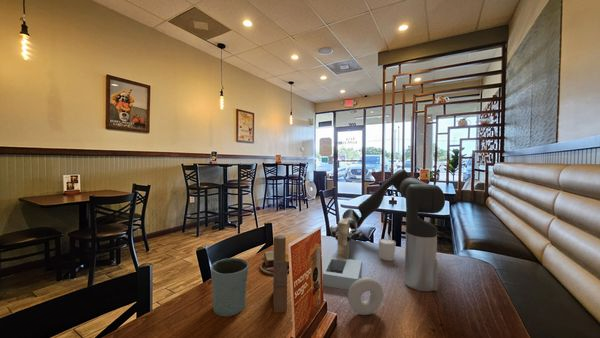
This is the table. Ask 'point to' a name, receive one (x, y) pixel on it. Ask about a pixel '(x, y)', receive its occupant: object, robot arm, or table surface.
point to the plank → (343, 238)
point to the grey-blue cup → (229, 286)
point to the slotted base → (348, 267)
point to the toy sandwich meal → (270, 262)
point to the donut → (372, 301)
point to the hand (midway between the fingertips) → (342, 238)
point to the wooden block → (280, 275)
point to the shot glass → (387, 249)
